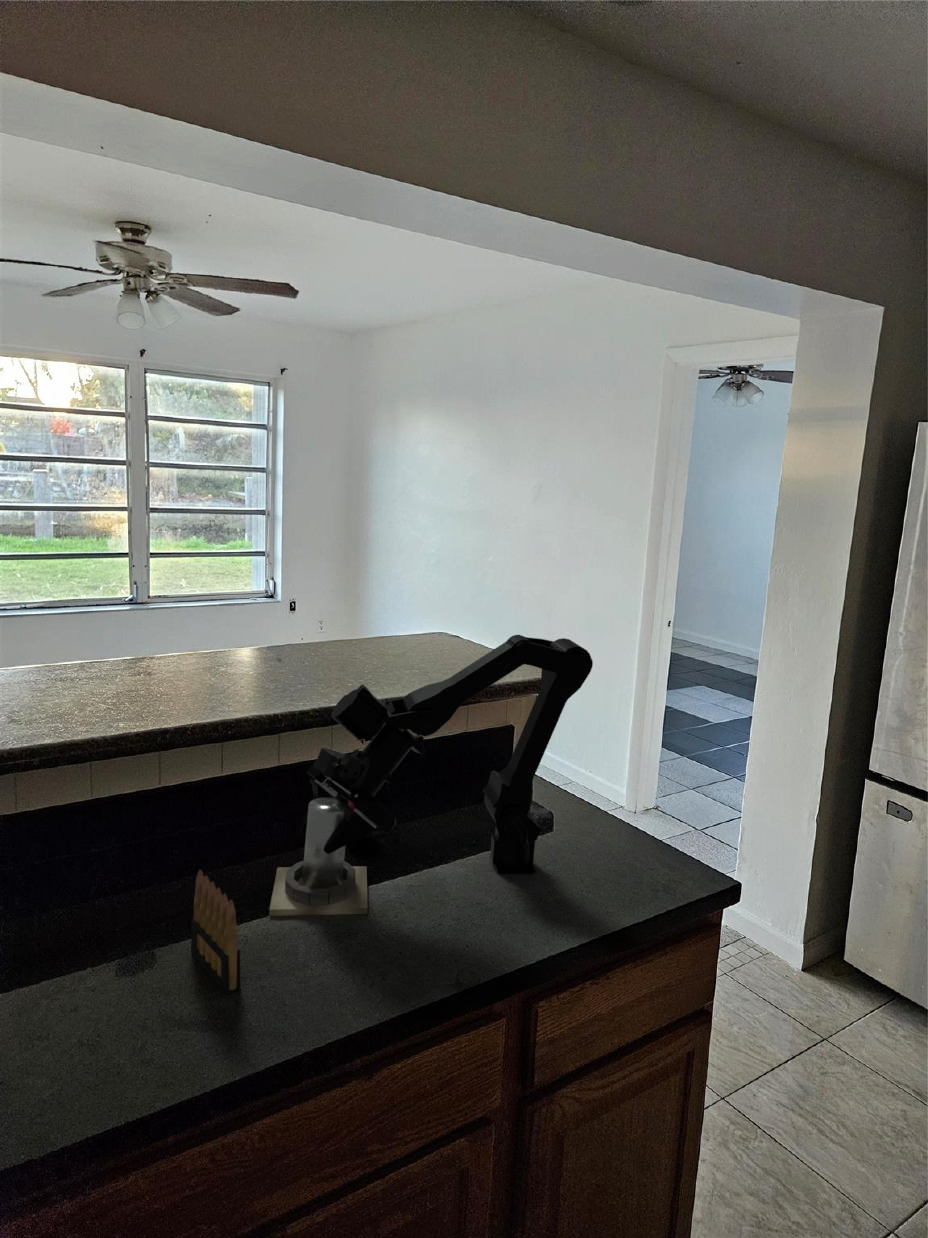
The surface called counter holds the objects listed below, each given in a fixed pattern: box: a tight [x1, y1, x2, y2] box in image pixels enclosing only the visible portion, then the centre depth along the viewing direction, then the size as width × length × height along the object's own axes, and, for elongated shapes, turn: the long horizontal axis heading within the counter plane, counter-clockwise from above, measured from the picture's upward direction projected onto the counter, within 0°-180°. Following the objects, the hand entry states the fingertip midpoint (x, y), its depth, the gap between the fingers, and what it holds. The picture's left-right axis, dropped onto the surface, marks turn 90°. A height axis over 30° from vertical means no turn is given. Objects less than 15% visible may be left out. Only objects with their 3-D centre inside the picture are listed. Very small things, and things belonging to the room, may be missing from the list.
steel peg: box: [302, 797, 349, 889], centre depth 118 cm, size 6×6×13 cm
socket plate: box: [268, 860, 368, 917], centre depth 119 cm, size 14×12×3 cm
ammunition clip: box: [190, 869, 241, 995], centre depth 99 cm, size 11×2×12 cm, turn 42°
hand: (313, 842), depth 117 cm, fingers open, 7 cm apart
